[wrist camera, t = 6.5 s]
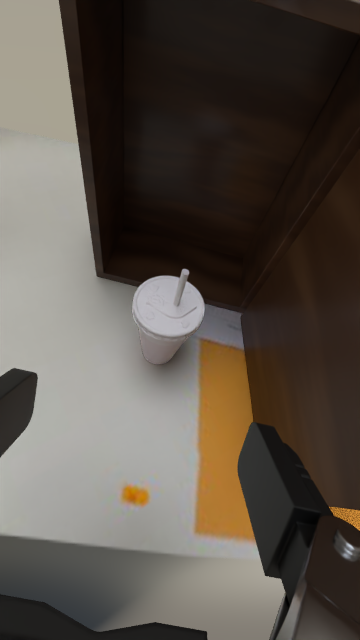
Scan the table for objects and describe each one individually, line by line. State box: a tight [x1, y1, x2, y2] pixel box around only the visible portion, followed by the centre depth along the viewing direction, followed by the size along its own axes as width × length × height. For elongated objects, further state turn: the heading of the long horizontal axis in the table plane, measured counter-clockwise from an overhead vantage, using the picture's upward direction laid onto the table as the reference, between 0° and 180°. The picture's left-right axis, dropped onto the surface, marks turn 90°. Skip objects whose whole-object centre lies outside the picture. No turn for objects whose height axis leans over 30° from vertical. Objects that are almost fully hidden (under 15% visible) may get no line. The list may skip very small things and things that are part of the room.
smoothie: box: [132, 269, 205, 364], centre depth 26 cm, size 6×6×14 cm
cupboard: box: [59, 0, 360, 313], centre depth 27 cm, size 10×20×27 cm, turn 80°
